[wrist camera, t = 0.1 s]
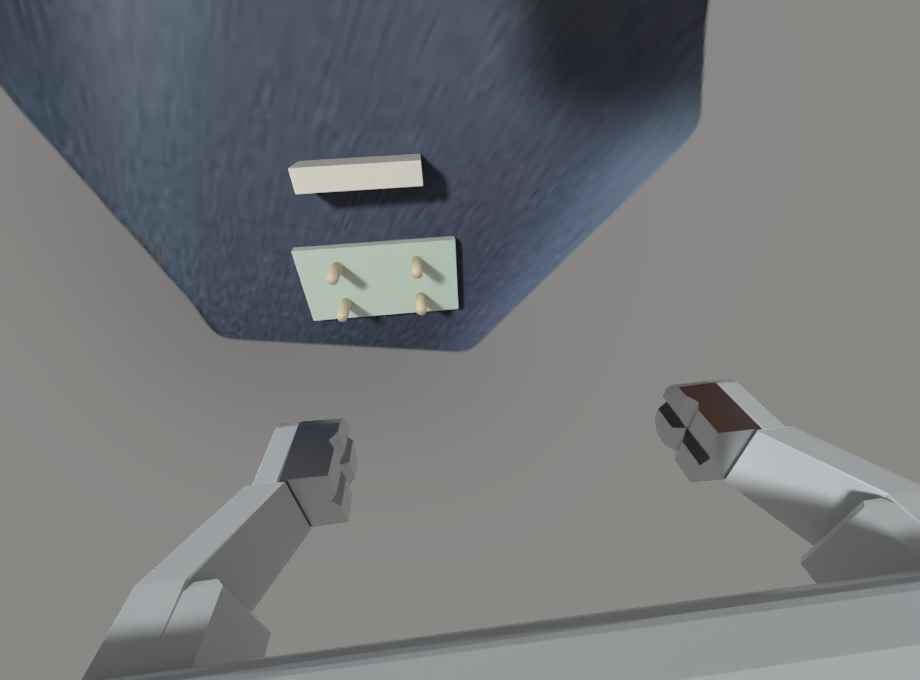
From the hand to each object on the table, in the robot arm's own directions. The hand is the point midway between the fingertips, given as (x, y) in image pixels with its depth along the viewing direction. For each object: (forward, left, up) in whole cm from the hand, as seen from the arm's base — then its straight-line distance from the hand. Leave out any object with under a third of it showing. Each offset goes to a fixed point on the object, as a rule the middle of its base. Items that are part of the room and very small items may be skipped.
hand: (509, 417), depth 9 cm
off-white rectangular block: (+2, -10, -48) cm, 49 cm away
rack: (+18, -10, -48) cm, 52 cm away
